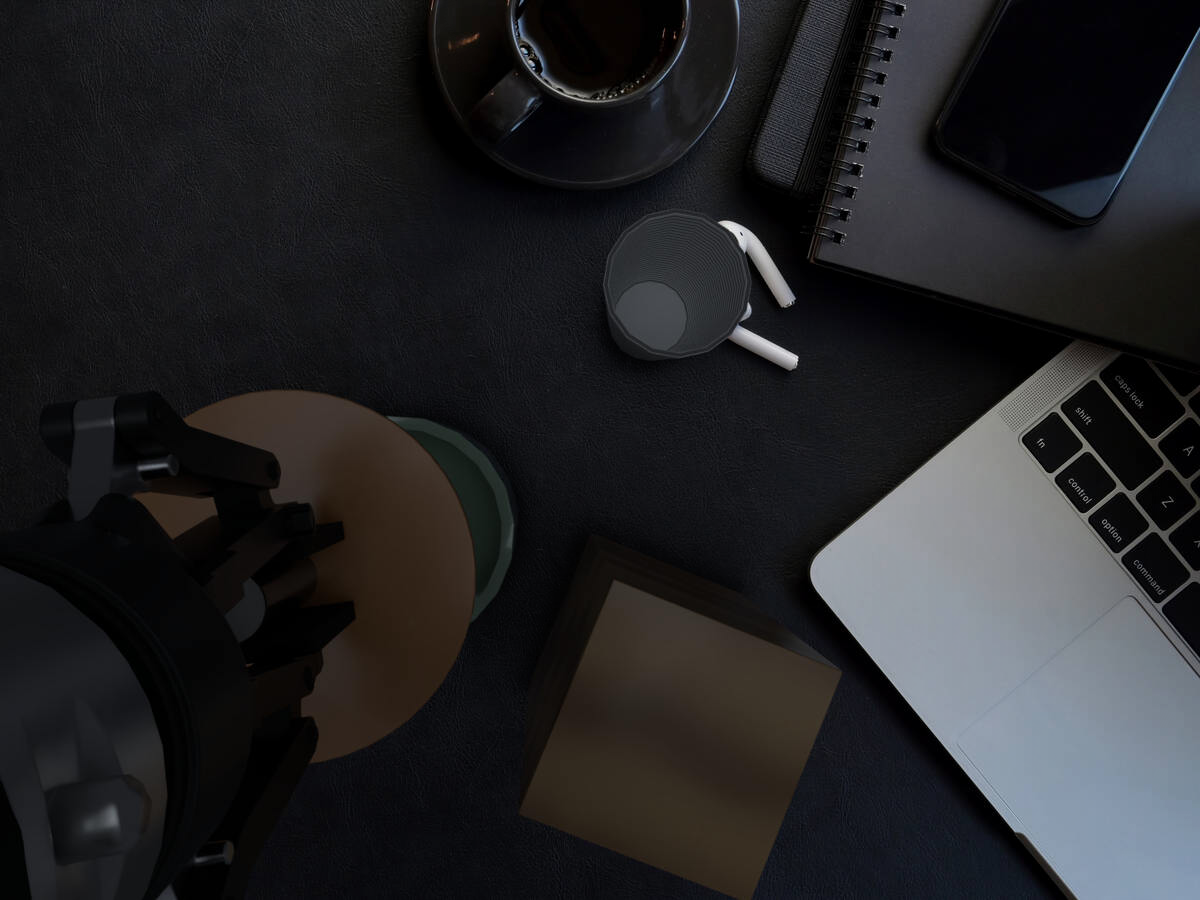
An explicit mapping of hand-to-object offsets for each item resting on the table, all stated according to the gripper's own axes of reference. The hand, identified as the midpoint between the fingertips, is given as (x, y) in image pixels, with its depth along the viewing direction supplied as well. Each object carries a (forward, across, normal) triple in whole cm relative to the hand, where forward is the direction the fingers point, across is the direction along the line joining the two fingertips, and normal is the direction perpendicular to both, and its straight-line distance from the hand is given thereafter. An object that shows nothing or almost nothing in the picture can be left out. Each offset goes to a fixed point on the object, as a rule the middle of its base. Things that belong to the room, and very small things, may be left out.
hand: (315, 574), depth 38 cm
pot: (+29, 0, 0) cm, 29 cm away
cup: (+30, +12, -19) cm, 37 cm away
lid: (+1, 0, +1) cm, 2 cm away
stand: (+29, -11, -14) cm, 35 cm away
